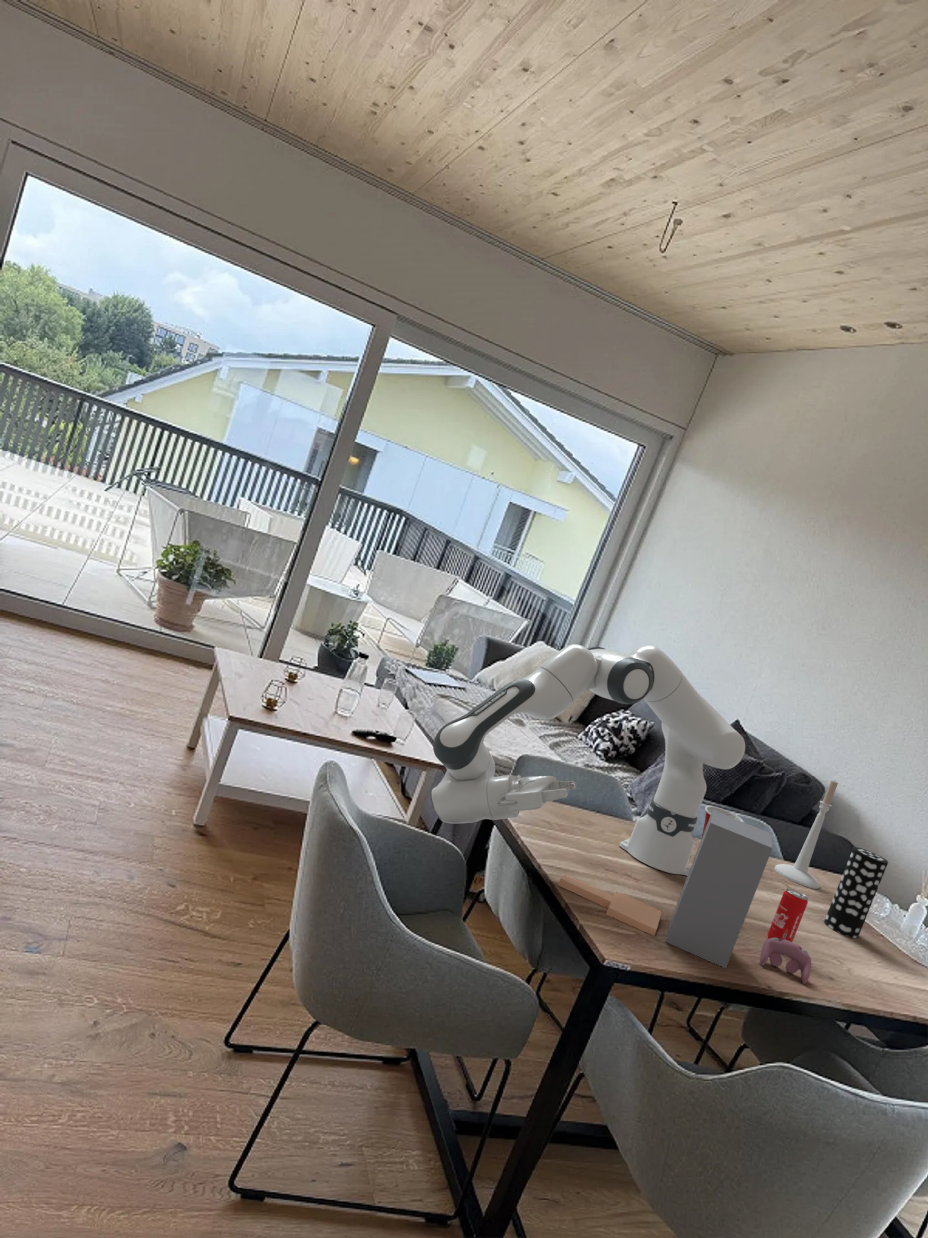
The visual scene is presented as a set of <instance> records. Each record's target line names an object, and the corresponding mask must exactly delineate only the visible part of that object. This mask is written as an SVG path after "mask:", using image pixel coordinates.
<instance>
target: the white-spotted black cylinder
mask: <svg viewBox="0 0 928 1238" xmlns="http://www.w3.org/2000/svg"><path fill="white" fill-rule="evenodd" d="M888 864H889V861H888V860H887V859H885V858H884V857H882V856H881V855H879V854H876V853H875V852H873V851H869V850H867V849H864V848H861V847H859V846H854V847H853V848H852V850H851V853H850V855H849V858H848V860H847V863H846V866H845V868H844V871H843V872H842V876H841V878H840V880H839V883H838V885H837V888H836V890H835V893H834V895H833V898H832V901H831V904H830V906H829V908H828V911H827V913H826V916H825V918H824V921H823V923H824V924H825V925H826V926H827V927H828V928H830V929H831V930H832V931H835V932H836V933H838V934H841V935H843V936H845V937H849V938H851V939H852V938H853V939H858V938H859V937H860V934H861V931H862V929H863V927H864V925H865V921H866V919H867V918H868V914H869V912H870V909H871V907H872V905H873V901H874V899H875V896H876V894H877V892H878V889H879V887H880V884H881V882H882V880H883V876H884V874H885V871H886V869H887V866H888Z"/></svg>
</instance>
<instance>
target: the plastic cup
mask: <svg viewBox="0 0 928 1238" xmlns="http://www.w3.org/2000/svg"><path fill="white" fill-rule="evenodd" d="M704 810H705V815H704V816H705V817H704V824H703V829H702V833H701V837H702V836H703V834H704V831H705V829H706V826H707V823H708V821H709V818H710V816H711V813H712V810H714V811H717V812H719V813H722V814H724V815H726V816H729V817H731V818H734V819H736V820H739V821H741V822H744V823H745V821H744V820H743V819H742V817H740V816H739V815H737V814H736V813H733V812H732V811H729V810H726V809H725V808H720V807H718V806H712V805H711V806H710V805H707V806H705V808H704Z"/></svg>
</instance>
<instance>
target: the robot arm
mask: <svg viewBox="0 0 928 1238" xmlns="http://www.w3.org/2000/svg"><path fill="white" fill-rule="evenodd" d="M587 691H588V692H589V691H590V692H592V693H593V694H595V695H597V696H599V697H601V698H604V699H607V700H611V701H614V702H616V703H619V704H623V705H634V704H637V703H639V702H641V701H642V700H644V702H645V703H646V704H647V706H649V708H650V709H651V710H652V712H653V714H655V715H656V717H657V718H658V720H660V721H661V732H662V734H663V738H664V743H665V744H664V745H665V755H664V765H663V771H662V774H661V777H660V780H659V783H658V786H657V789H656V792H655V795H654V798H653V799H651V800H650V802H649V805H648V808H647V810H646V814H645V815H643V816H642V817H640V818H637V820H636V821H635V824H634V827H633V830H632V831H631V834H630V837H628V838H626V839H625V840H622V841H620V842H619V845H618V846H619V847H620V848H622V849H623V850H625V851H626V852H628V853H629V855H631V856H632V857H633V858H635V859H636V860H638V861H640V862H641V863H644V864H645V865H648V866H649V867H652V868H654V869H656V870H660V871H662V872H665V873H669V874H674V875H683V876H686V877H687V876H688V873H689V871H690V868H691V865H690V863H689V861H690V859H691V856H692V853H693V849H694V847H695V844H696V842H695V839H694V837H693V835H692V833H693V832H694V829H695V828H696V825H697V821H698V813H699V811H700V808H701V805H702V802H703V800H704V797H705V795H706V792H707V783H706V779H705V777H704V772H703V771H704V770H703V769H704V768H703V765H704V764H705V765H707V766H710V767H712V768H716V769H719V770H720V769H721V770H730V769H732V768H734V767H736V766H737V765H738V764H739V763H740V762H741V761H742V759H743V757H744V755H745V752H746V742H745V738H744V737H743V736H742V735H741V734H740V733H739V731H737V730H736V729H735V728H734V727H732V726H731V724H730V723H729V722H728V721H727V720H726V719H725V718H724V717H723V716H722V715H721V714H720V713H719V712H718V711H717V709H715V708H714V707H713V705H711V704H710V703H709V702H708V700H706V699H705V698H704V697H702V695H701V694H700V693H699V692H698V691H697V690H696V688H695V687H694V686H693V685H692V684H691V682H690V681H689V680H688V679H687V677H686V676H685V675H684V673H683V671H681V669H680V667H679V666H678V665H677V664H676V663H675V662H674V661H673V660H672V659H671V658H670V657H669V656H668V655H667V654H666V653H665V652H664V651H662V650H661V649H660V648H659V647H657V646H655V645H652V644H641V645H639V646H637V647H636V648H633V650H631V652H629V654H626V653H623V652H619V651H617V650H612V649H607V648H605V647H601V646H591V647H585V646H584V645H582V644H577V643H572V644H568V645H566V646H564V647H563V648H561V649H560V650H559V651H557V652H556V653H554V654H552V656H550V657H549V658H547V659H546V660H544V661H543V663H541V664H540V665H539V666H538V667H537V668H536V669H535V670H534V671H532V672H531V673H530V674H528V675H527V676H525V677H524V678H518V679H514V680H512V681H510V682H509V683H507V684H505V685H504V686H502V687H501V688H499V690H496V691H495V692H494V693H493V694H491V695H490V696H488V697H487V698H486V699H484V700H483V701H482V702H480V703H479V704H478V705H476V706H475V707H474V708H472V709H471V710H469V711H468V712H467V713H465V714H464V715H463V714H462V716H460V717H458V718H455V719H453V720H451V721H449V722H448V723H446V724H445V725H443V726H442V727H441V728H440V729H439V731H437V733H436V735H435V737H434V739H433V743H432V745H433V746H432V750H433V753H434V756H435V758H436V759H438V761H439V762H440V763H441V764H442V765H443V767H445V769H446V772H445V774H444V776H443V777H442V779H441V780H440V782H439V783H438V784H437V786H435V787H434V788H432V789H431V794H430V799H431V804H432V807H433V811H434V812H435V814H436V816H437V818H438V819H439V820H440V821H441V822H443V823H444V824H445V823H446V824H471V823H477V822H480V821H483V820H492V821H496V820H504V819H512V818H518V816H519V815H520V812H525V811H533V810H538V809H541V808H543V806H544V805H546V804H547V803H548V802H549V803H550V802H552V801H556V800H560V799H561V800H562V799H566V798H567V797H568V796H569V793H568V792H569V791H574V790H575V789H576V788H577V786H576V782H575V780H557V777H556V776H552V775H542V776H541V775H539V776H524V777H521V775H520V774H518V775H513V774H505V775H499V776H496V769H497V768H496V763H495V760H494V758H493V756H492V754H491V752H490V751H489V749H488V748H487V747H486V745H485V743H484V740H485V738H486V736H487V735H488V734H489V733H491V732H492V731H494V729H496V728H497V727H499V725H501V724H502V723H504V722H505V721H506V720H508V719H509V718H510V717H512V716H514V715H516V714H525V715H528V716H529V717H532V718H534V719H536V720H537V719H538V720H542V721H544V720H545V721H546V720H547V721H548V720H549V721H550V720H553V719H555V718H556V717H558V716H560V715H561V714H562V713H563V714H564V712H565V711H566V710H567V709H568V708H569V707H570V706H571V705H572V704H574V703H575V701H576V700H577V699H578V698H579V697H580V696H581V695H582V694H583V693H585V692H587Z"/></svg>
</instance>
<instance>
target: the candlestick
mask: <svg viewBox="0 0 928 1238" xmlns="http://www.w3.org/2000/svg"><path fill="white" fill-rule="evenodd" d="M838 784H839V783H838V781H836V780H830V782H829V785H828V787H827V789H826V793H825V795H824V797H823V800H819V803H820V804H819V812H818V813H817V814H816V817H815V820H814V822H813V823H812V826H811V827H810V830H809V833H808V835H807V837H806V839H805V841H804V843H803V846H802V848H801V850H800V852H799V854H798V856H797V858H796V861H795V863H793V865H792V864H787V863H780V864H779V863H778V864H775V866H774V871H776V873H777V874H779V875H780V876H781V877H783V878H785V879H787V880H789V881H791V882H793V883H795V884H798V885H800V886H802V887H805V888H809V889H814V890H819V889H820V888H821V884H820V882H819V880H818V879H817V878H816V877H815V876H813V875H812V874H811V873H810V872H809V871H808V869H809V866H810V863H811V859H812V857H813V854H814V850H815V848H816V846H817V845H816V844H817V841H818V838H819V835H820V833H821V830H822V826H823V823H824V820H825V818H826V813H827V812H829V810H830V808H832V807H833V805H831V802H832V800H833V798H834V794H835V792H836V789H837V787H838Z"/></svg>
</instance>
